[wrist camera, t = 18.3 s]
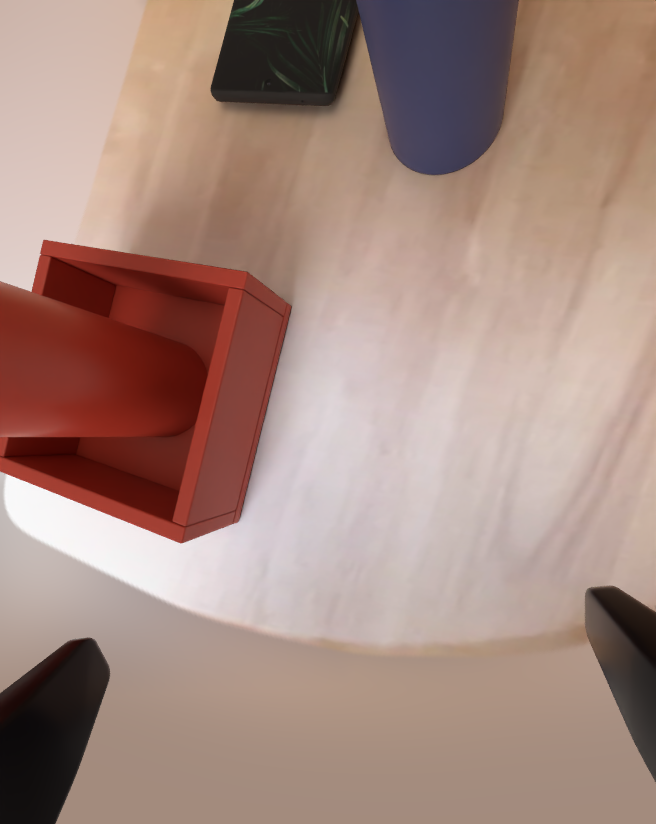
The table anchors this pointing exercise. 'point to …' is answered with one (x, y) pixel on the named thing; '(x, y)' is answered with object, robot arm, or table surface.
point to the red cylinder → (90, 374)
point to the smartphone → (284, 51)
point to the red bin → (221, 402)
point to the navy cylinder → (440, 76)
